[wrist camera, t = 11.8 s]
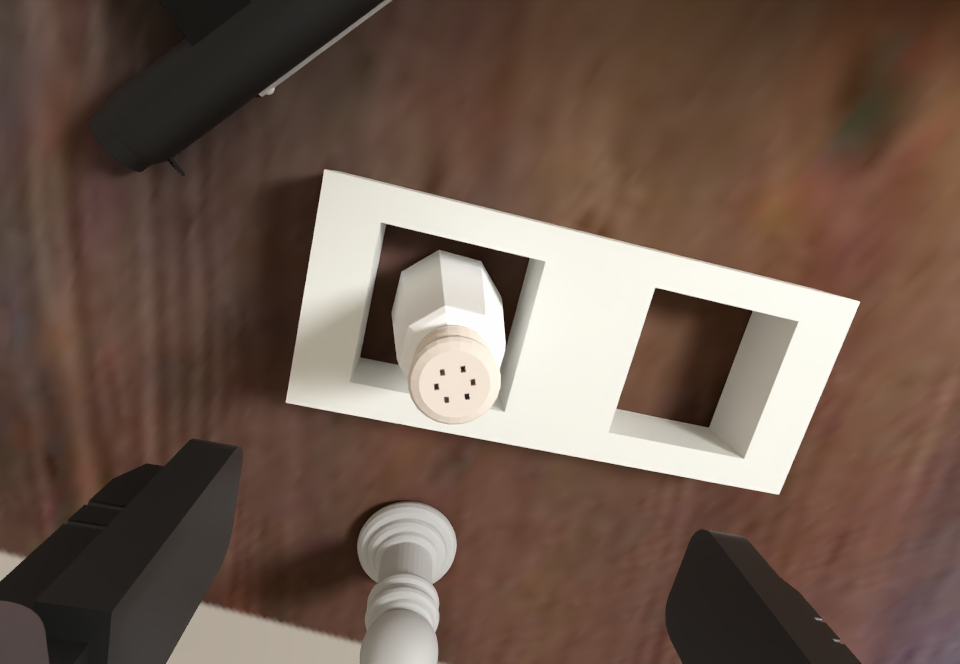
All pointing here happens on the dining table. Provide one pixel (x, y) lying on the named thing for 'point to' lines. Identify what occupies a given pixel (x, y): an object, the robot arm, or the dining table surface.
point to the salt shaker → (449, 336)
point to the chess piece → (404, 581)
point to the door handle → (217, 70)
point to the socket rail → (569, 340)
